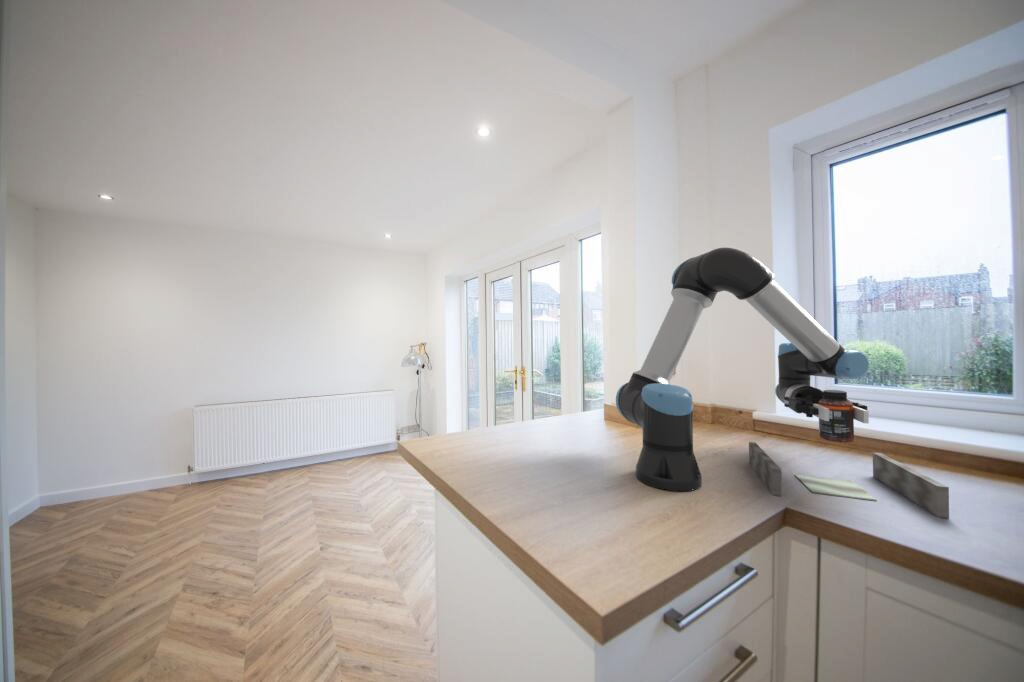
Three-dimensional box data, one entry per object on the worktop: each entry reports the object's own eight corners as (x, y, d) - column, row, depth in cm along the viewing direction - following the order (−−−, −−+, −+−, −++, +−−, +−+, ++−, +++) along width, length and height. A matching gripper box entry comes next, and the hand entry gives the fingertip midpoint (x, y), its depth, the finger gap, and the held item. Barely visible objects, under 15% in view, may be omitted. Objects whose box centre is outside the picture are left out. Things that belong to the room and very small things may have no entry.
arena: (749, 463, 98) (748, 441, 98) (881, 477, 88) (881, 453, 88) (772, 494, 78) (772, 468, 78) (949, 518, 67) (948, 487, 67)
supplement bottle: (839, 436, 83) (839, 389, 83) (861, 443, 77) (860, 392, 77) (812, 435, 84) (811, 389, 84) (832, 443, 78) (831, 392, 78)
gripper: (850, 415, 93) (905, 437, 72) (765, 410, 101) (792, 429, 79) (850, 387, 93) (905, 401, 72) (765, 384, 101) (792, 396, 79)
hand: (846, 415), depth 76 cm, fingers closed on supplement bottle, 6 cm apart
